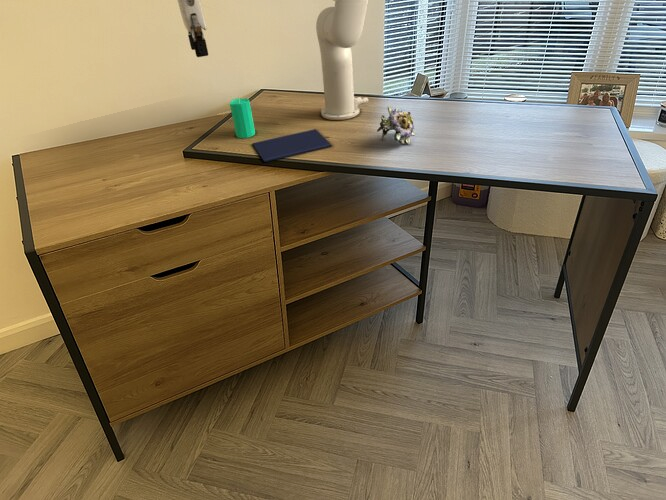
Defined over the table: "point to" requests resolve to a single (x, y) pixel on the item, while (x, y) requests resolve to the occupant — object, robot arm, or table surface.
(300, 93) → the table surface
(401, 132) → the passion flower
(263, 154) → the cloth
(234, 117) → the candle
